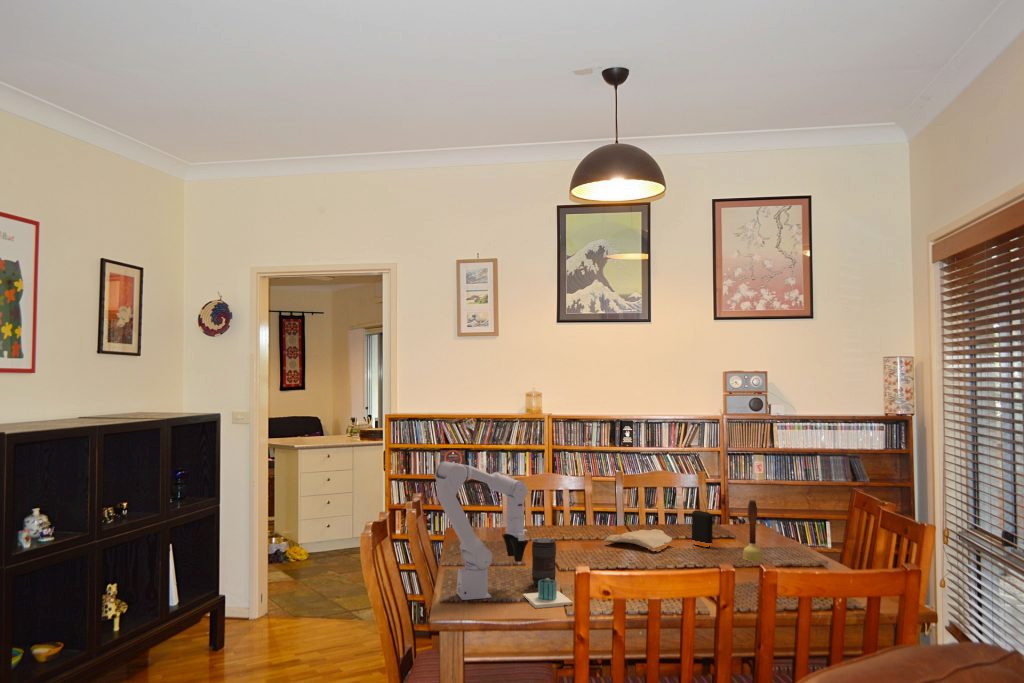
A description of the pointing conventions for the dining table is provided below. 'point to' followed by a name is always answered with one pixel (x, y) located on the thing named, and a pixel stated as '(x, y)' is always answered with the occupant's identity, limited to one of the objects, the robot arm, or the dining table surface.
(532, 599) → the white base with peg
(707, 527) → the carrying case or bag
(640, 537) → the beige curved shard
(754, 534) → the handbell
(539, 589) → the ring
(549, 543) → the camera lens
